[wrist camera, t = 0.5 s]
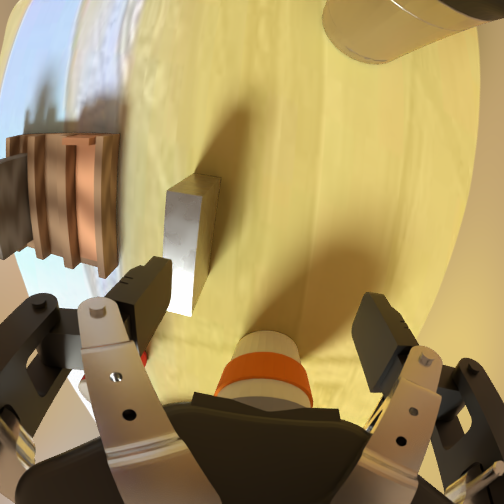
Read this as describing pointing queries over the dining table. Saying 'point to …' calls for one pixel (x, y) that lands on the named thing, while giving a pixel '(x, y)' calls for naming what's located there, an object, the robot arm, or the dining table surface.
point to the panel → (190, 237)
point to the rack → (61, 197)
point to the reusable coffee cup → (266, 374)
